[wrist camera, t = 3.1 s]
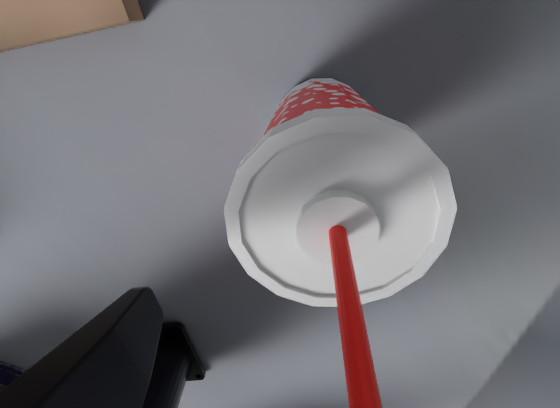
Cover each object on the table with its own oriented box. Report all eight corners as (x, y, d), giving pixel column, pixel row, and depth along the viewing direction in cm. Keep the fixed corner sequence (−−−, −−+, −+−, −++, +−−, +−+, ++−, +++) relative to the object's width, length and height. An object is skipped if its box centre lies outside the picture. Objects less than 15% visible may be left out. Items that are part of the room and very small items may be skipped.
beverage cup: (234, 110, 17) (54, 388, 4) (341, 29, 14) (546, 139, 2) (303, 199, 19) (307, 538, 7) (404, 140, 17) (666, 477, 5)
